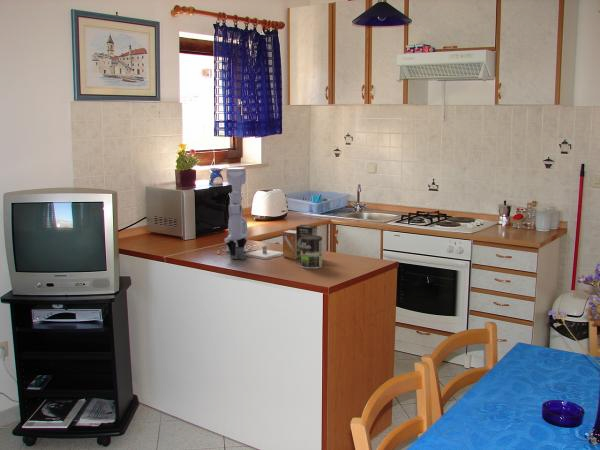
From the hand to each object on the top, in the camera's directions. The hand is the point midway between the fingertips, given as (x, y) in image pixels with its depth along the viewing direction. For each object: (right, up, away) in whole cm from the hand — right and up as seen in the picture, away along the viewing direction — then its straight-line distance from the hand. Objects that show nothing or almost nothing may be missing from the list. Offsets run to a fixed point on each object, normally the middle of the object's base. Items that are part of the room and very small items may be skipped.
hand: (236, 254), depth 346 cm
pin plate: (+14, -1, +7) cm, 15 cm away
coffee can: (+37, -5, -19) cm, 42 cm away
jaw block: (+1, -2, -1) cm, 2 cm away
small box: (+28, -2, +2) cm, 28 cm away
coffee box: (+35, -2, -1) cm, 35 cm away
